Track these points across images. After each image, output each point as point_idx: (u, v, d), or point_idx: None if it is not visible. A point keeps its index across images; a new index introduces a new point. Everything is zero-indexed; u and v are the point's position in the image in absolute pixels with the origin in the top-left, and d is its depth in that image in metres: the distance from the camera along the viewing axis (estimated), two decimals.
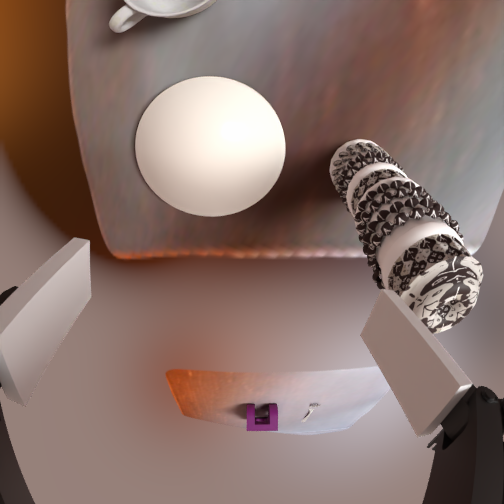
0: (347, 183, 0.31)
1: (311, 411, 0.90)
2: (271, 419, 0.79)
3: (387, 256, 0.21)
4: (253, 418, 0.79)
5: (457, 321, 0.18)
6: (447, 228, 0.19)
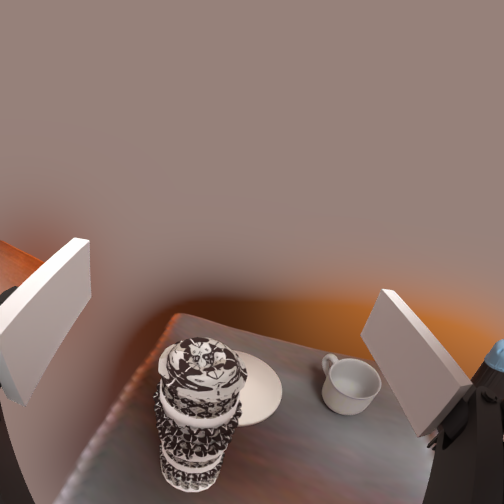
0: None
1: None
2: None
3: None
4: None
5: (184, 363, 0.23)
6: (236, 408, 0.25)
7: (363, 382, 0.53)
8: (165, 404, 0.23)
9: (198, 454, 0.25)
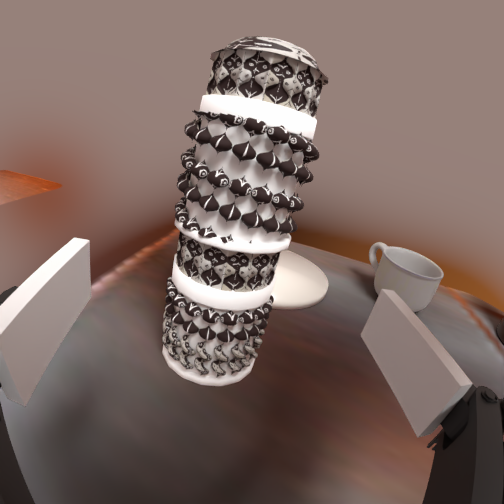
0: None
1: None
2: None
3: None
4: None
5: None
6: (314, 128, 0.17)
7: None
8: (210, 99, 0.16)
9: (248, 217, 0.17)
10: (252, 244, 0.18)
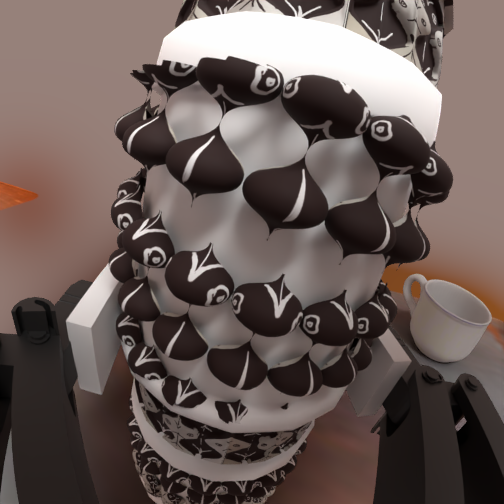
0: None
1: None
2: None
3: None
4: None
5: None
6: None
7: None
8: (178, 35, 0.05)
9: (289, 380, 0.06)
10: (290, 412, 0.07)
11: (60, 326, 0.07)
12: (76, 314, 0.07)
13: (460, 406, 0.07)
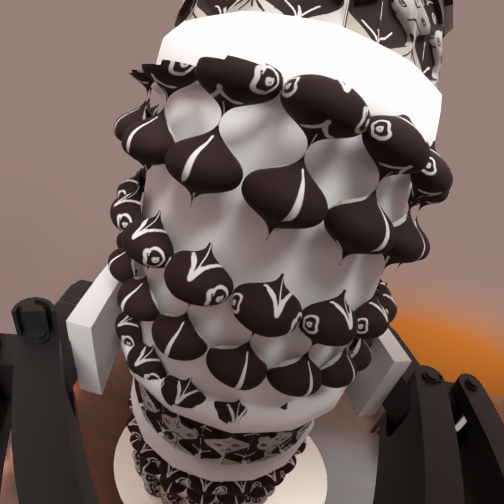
0: None
1: None
2: None
3: None
4: None
5: None
6: None
7: None
8: (178, 35, 0.05)
9: (289, 381, 0.06)
10: (289, 412, 0.07)
11: (60, 326, 0.07)
12: (76, 314, 0.07)
13: (460, 406, 0.07)
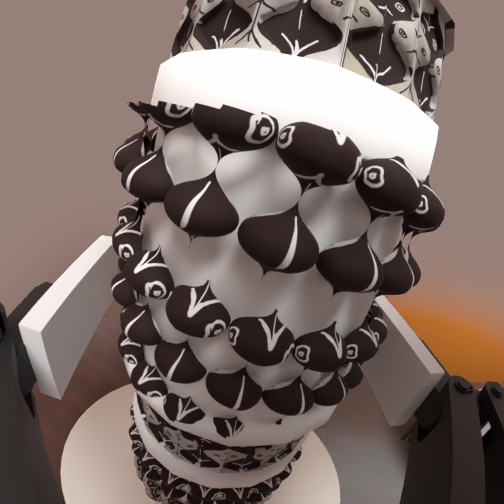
0: None
1: None
2: None
3: None
4: None
5: None
6: None
7: None
8: (174, 67, 0.05)
9: (282, 402, 0.06)
10: (283, 427, 0.07)
11: (18, 329, 0.06)
12: (29, 317, 0.06)
13: (487, 412, 0.06)
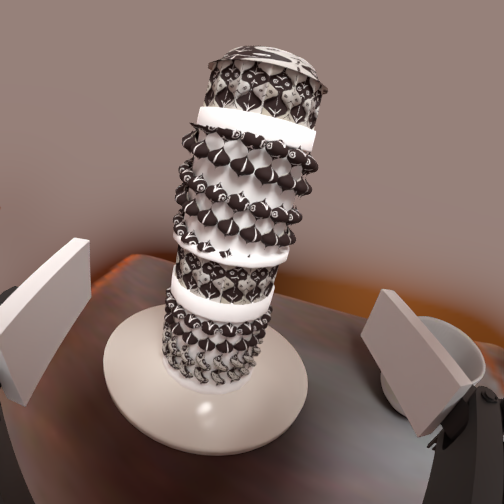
0: None
1: None
2: None
3: None
4: None
5: None
6: (313, 140, 0.17)
7: None
8: (208, 111, 0.16)
9: (247, 232, 0.17)
10: (251, 258, 0.18)
11: None
12: None
13: None
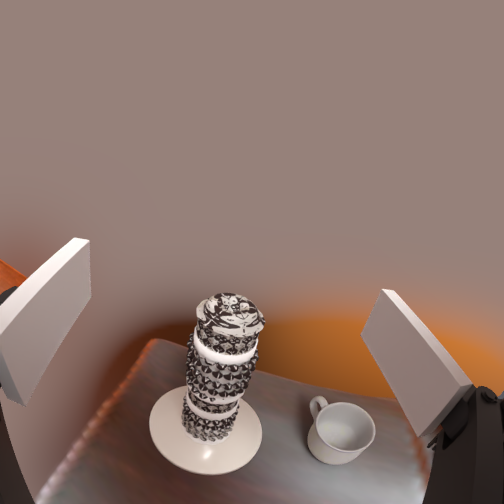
0: None
1: None
2: None
3: None
4: None
5: (218, 308, 0.32)
6: (254, 350, 0.34)
7: (355, 427, 0.44)
8: (199, 345, 0.33)
9: (221, 394, 0.34)
10: (224, 400, 0.35)
11: None
12: None
13: None
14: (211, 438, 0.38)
